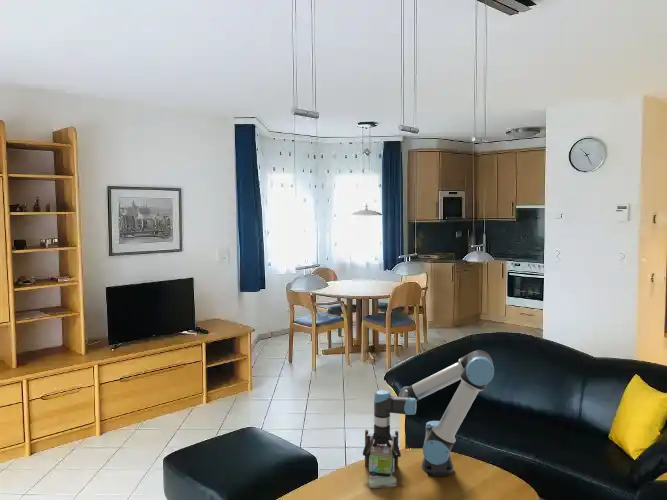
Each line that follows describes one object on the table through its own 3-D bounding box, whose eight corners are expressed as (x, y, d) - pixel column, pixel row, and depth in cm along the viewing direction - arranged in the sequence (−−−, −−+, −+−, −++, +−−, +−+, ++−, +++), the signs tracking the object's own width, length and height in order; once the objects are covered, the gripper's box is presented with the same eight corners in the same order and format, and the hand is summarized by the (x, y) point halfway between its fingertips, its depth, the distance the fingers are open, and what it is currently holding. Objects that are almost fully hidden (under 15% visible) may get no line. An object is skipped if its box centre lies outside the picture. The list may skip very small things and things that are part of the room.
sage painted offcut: (393, 479, 252) (393, 475, 252) (396, 482, 249) (396, 479, 249) (368, 483, 249) (368, 479, 249) (371, 486, 245) (371, 483, 245)
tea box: (390, 484, 252) (391, 453, 251) (369, 482, 254) (369, 451, 253) (393, 469, 267) (393, 439, 266) (372, 467, 269) (373, 438, 268)
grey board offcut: (394, 482, 252) (394, 479, 252) (396, 486, 249) (396, 482, 249) (368, 484, 251) (368, 481, 251) (370, 488, 247) (370, 484, 247)
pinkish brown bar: (394, 486, 252) (394, 483, 252) (395, 490, 248) (395, 487, 248) (367, 487, 251) (367, 483, 251) (368, 490, 248) (368, 487, 248)
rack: (397, 466, 270) (398, 430, 269) (397, 468, 268) (398, 432, 267) (364, 465, 271) (365, 429, 270) (364, 467, 269) (365, 431, 268)
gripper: (406, 421, 261) (405, 467, 263) (357, 420, 263) (357, 465, 265) (407, 428, 254) (406, 474, 255) (357, 426, 256) (356, 472, 257)
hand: (381, 470), depth 260 cm, fingers closed on tea box, 10 cm apart
